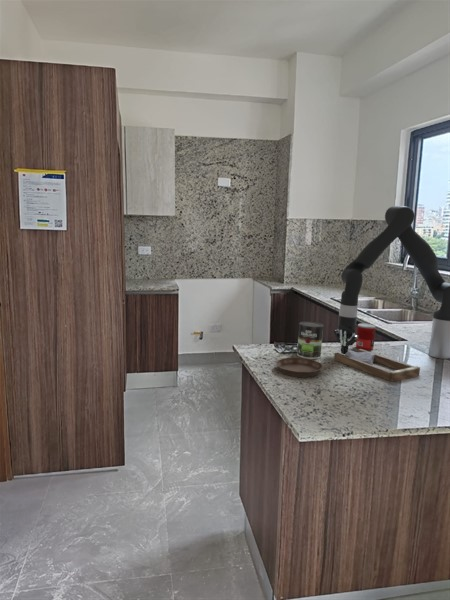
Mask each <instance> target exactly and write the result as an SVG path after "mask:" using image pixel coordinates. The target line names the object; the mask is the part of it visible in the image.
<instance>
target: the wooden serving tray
mask: <svg viewBox="0 0 450 600" xmlns="http://www.w3.org/2000/svg"><path fill="white" fill-rule="evenodd" d="M357 350H358V351H357V352H370V353H372V354H374V356H375V357H374V362H375V363H377V364H380V365H383V366H386V367H389V368H392V369H394V370H392V371H390V370H387V369H384V368H382V367H379V366H375V365H374V364H373V365H371V364H368V363H365V362H362V361H359V360H357V359H354V358H351V357H348V356H345V354H342V353H341V352H340V353H339V352H334V355H333V357H334V358H333V360H334V361H336V362H339V363H341V364H344V365H347V366H350V367H352V368H355V369H358V370H360V371H363V372H366V373H368V374H370V375H374V376H375V377H379V378H381V379H384V380H387V381H389V382H391V383H393V382H397V381H402V380H405V379H406V380H407V379H411V378H414V377H419V376H420V371H421V367H420V366H418V365H417V366H414V365H411V364H408V363H406V362H402V361H399V360H396V359H393V358H389V357H387V356H384V355H381V354H377V353H374V352H372V351H370V350H363V349H358V348H357ZM374 362H373V363H374Z"/></svg>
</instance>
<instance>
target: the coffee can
mask: <svg viewBox="0 0 450 600" xmlns="http://www.w3.org/2000/svg"><path fill="white" fill-rule="evenodd" d="M298 325H299V327H298V335H297V336H298V337H297V351H296V355H297V356H298V358H304V359H310V360H318V359H321V354H322V345H323V344H322V343H323V331H324V326H325V325H324V324H323V323H321V322H317V321H316V322H315V321H300V322H299V323H298Z"/></svg>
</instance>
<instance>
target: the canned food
mask: <svg viewBox="0 0 450 600" xmlns="http://www.w3.org/2000/svg"><path fill="white" fill-rule="evenodd" d="M375 335H376V325H375V324H370V323H363V322H362V323H358V324H357V332H356V336H359V338H358V339H357V340H356V342H355V347H356V348H357V350H358V349H363V350H366V351H372V350H374V348H375V347H374V345H375V338H376V337H375Z"/></svg>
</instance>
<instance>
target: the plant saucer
mask: <svg viewBox="0 0 450 600" xmlns="http://www.w3.org/2000/svg"><path fill="white" fill-rule="evenodd" d="M275 365H276V366H277V368H278V370H279V371H280V372H281V373H282V374H284V375H287V376H290V377H295V378H296V377H299V378H310V377H315V376H316V375H318V373H320V372H321V370H322V369H323V367H324V366H323V365H322V363H321V362H319V361H316V360H315V359H305V358H301V357H286V358H281V359H279V360H277V361H276V362H275Z"/></svg>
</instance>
